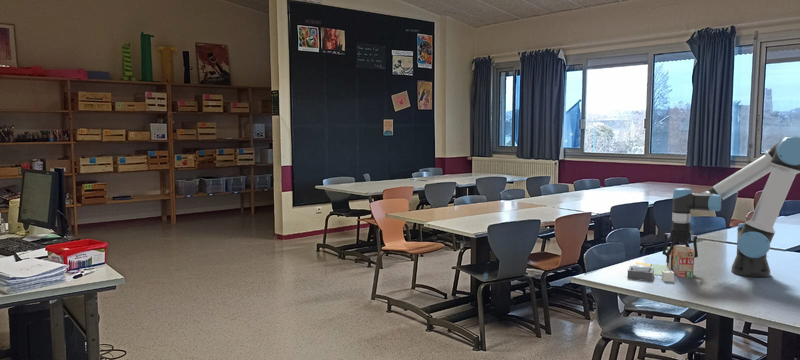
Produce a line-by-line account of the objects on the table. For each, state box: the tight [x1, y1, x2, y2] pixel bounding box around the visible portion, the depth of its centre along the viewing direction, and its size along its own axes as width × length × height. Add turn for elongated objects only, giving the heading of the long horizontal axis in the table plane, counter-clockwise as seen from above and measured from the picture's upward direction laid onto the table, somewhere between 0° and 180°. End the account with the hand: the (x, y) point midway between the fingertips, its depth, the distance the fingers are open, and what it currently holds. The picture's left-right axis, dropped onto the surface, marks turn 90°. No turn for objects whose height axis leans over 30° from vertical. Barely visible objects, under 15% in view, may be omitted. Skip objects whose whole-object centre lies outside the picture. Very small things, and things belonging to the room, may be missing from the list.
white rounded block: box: [632, 263, 651, 272], centre depth 253 cm, size 7×7×4 cm
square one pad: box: [652, 264, 669, 277], centre depth 266 cm, size 7×22×1 cm, turn 152°
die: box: [661, 270, 675, 283], centre depth 247 cm, size 4×4×4 cm
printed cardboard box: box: [666, 244, 695, 279], centre depth 261 cm, size 21×6×12 cm, turn 168°
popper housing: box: [627, 265, 655, 282], centre depth 253 cm, size 10×10×4 cm
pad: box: [635, 262, 652, 268], centre depth 269 cm, size 7×22×1 cm, turn 152°
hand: (679, 270), depth 262 cm, fingers closed on printed cardboard box, 7 cm apart
